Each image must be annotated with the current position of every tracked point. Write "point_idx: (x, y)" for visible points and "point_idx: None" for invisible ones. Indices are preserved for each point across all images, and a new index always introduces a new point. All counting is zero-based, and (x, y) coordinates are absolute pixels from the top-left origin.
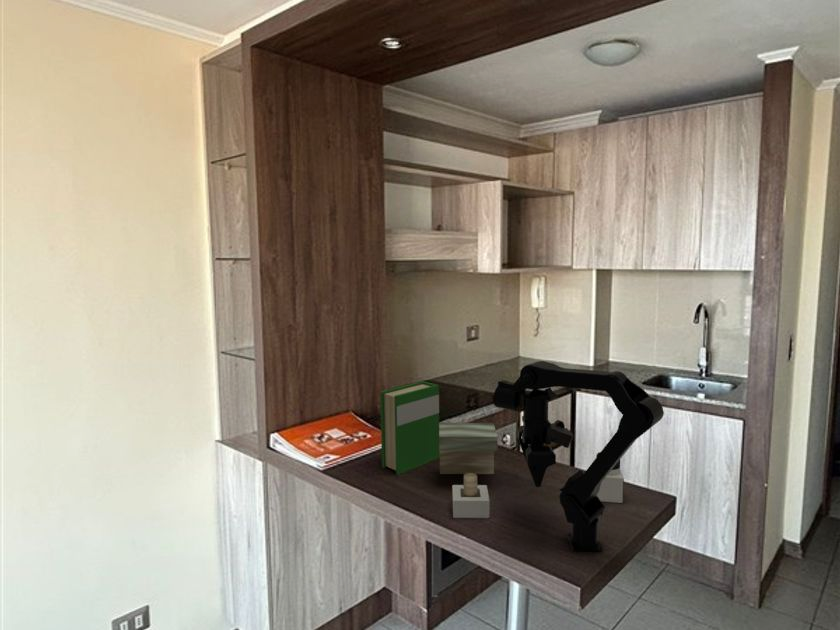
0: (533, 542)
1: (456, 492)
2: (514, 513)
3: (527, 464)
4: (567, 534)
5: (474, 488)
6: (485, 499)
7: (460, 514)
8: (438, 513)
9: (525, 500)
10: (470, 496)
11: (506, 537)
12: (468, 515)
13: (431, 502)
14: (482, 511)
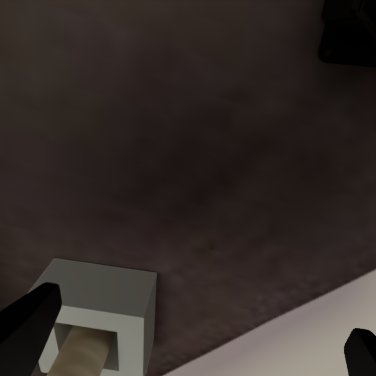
0: (321, 194)
1: None
2: (125, 201)
3: (35, 363)
4: (322, 60)
5: (94, 365)
6: (133, 324)
7: (152, 336)
8: None
9: (24, 142)
10: (109, 348)
11: (271, 257)
12: (153, 320)
13: None
14: (151, 303)
